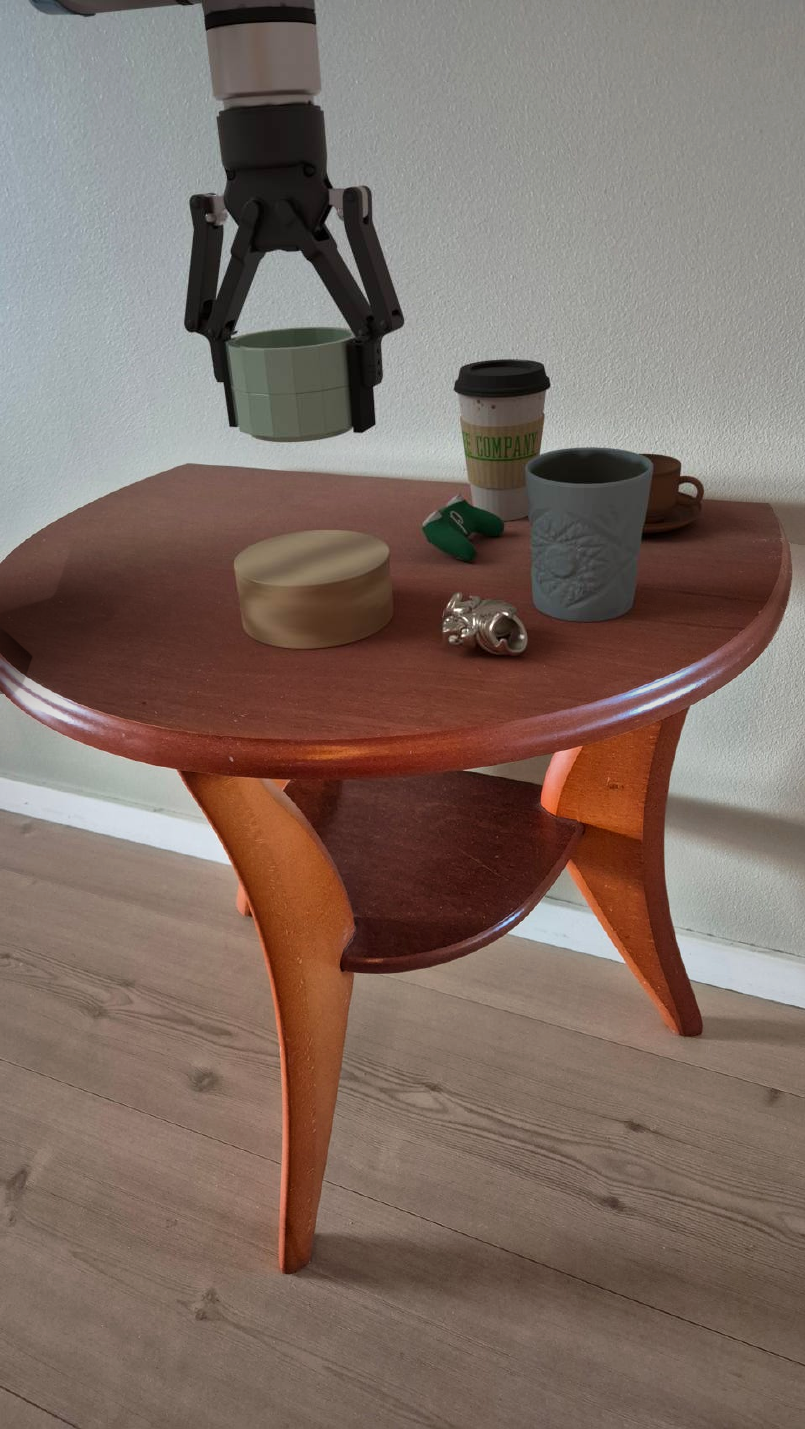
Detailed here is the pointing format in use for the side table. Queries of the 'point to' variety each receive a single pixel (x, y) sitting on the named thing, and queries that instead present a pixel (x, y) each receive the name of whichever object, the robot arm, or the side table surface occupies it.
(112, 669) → the side table surface
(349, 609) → the stand
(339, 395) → the bowl
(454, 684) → the side table surface
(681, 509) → the cup and saucer
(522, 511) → the coffee cup
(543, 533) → the blue-grey embossed tumbler
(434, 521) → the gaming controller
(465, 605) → the ornament
